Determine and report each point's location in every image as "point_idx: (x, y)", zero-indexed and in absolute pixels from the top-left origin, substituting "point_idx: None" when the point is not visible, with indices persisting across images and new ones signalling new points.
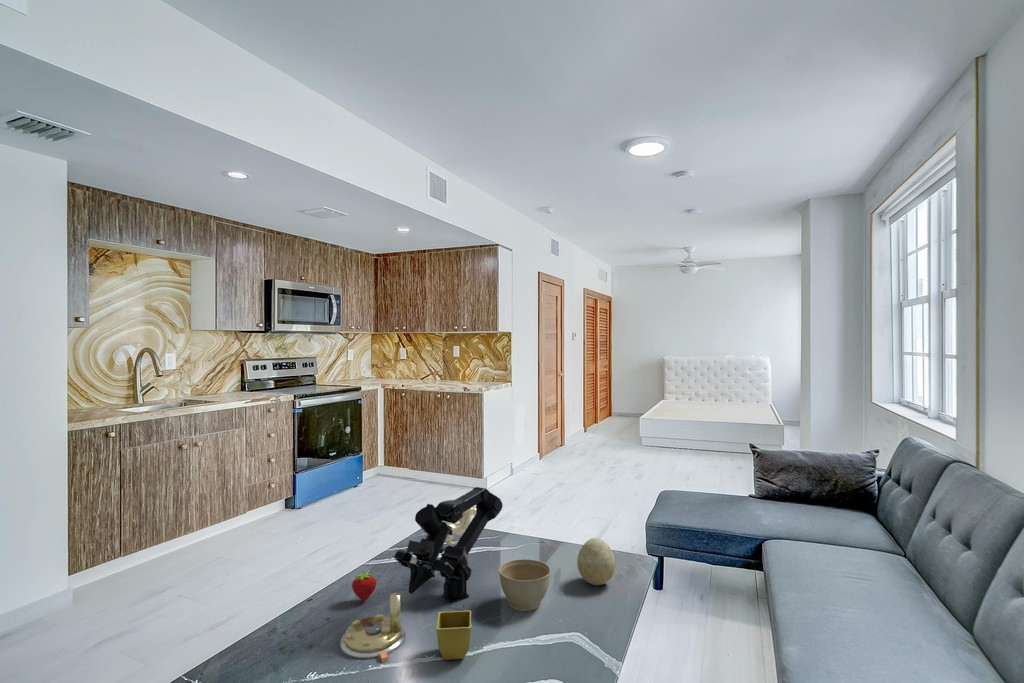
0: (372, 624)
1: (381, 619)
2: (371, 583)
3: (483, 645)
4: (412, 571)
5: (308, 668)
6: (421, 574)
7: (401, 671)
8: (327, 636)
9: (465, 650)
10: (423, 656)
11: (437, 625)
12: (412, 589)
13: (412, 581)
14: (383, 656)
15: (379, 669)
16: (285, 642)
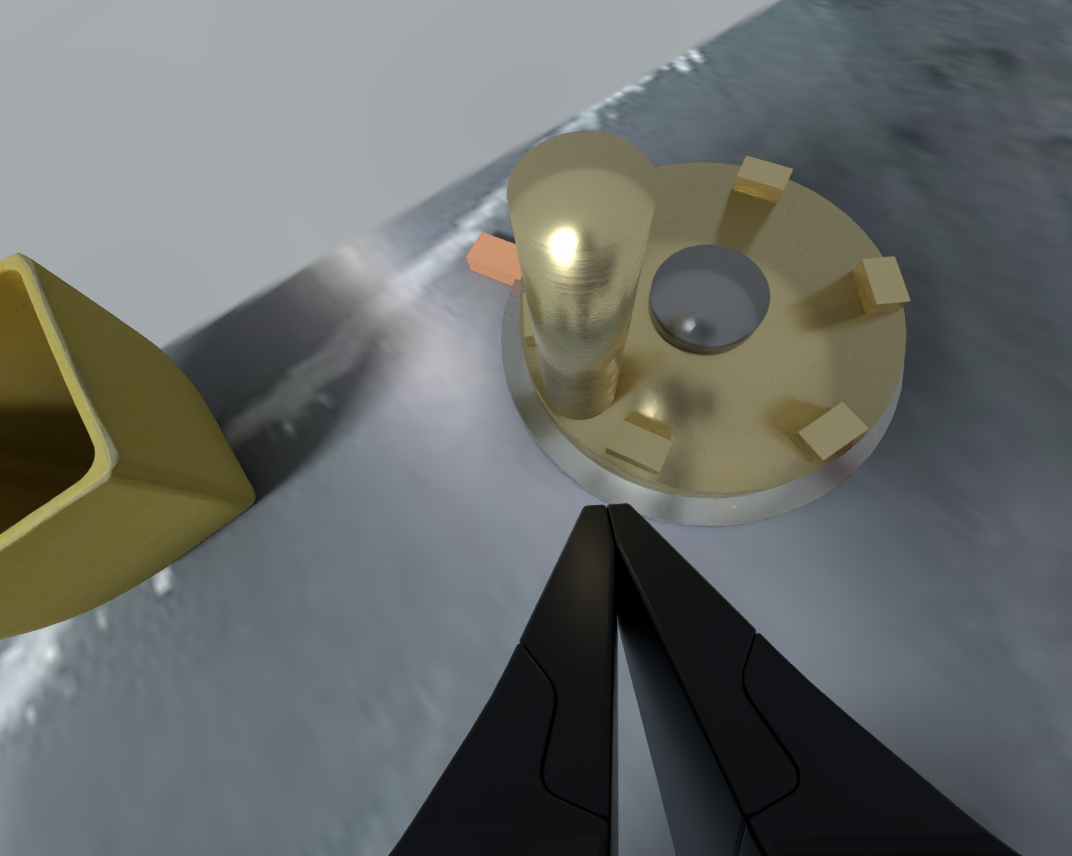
0: (744, 308)
1: (789, 430)
2: None
3: (60, 665)
4: (898, 851)
5: (733, 62)
6: (407, 837)
7: (361, 255)
8: (939, 221)
9: (34, 452)
10: (335, 386)
11: (31, 286)
12: (573, 539)
13: (646, 609)
14: (487, 243)
15: (460, 212)
16: (1049, 85)
